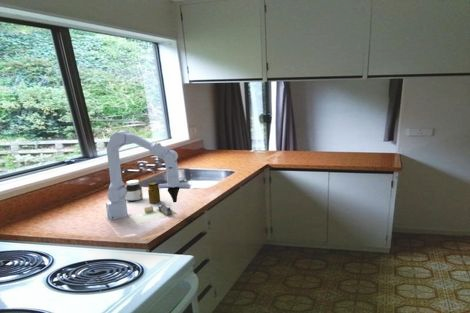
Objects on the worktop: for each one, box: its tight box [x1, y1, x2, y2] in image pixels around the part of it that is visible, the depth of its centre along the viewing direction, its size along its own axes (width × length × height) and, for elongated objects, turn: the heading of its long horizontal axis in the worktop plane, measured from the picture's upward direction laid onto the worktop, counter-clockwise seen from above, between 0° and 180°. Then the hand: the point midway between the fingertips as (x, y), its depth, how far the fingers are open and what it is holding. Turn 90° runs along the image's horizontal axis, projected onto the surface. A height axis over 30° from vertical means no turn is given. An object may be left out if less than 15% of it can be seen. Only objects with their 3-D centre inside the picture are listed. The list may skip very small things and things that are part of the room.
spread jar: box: [125, 179, 143, 203], centre depth 188 cm, size 12×11×12 cm
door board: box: [129, 208, 178, 225], centre depth 160 cm, size 20×13×1 cm, turn 125°
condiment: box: [147, 181, 161, 205], centre depth 179 cm, size 7×8×12 cm
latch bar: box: [157, 203, 173, 217], centre depth 162 cm, size 12×3×3 cm, turn 35°
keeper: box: [143, 205, 154, 213], centre depth 164 cm, size 4×2×2 cm, turn 125°
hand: (175, 201), depth 159 cm, fingers closed
